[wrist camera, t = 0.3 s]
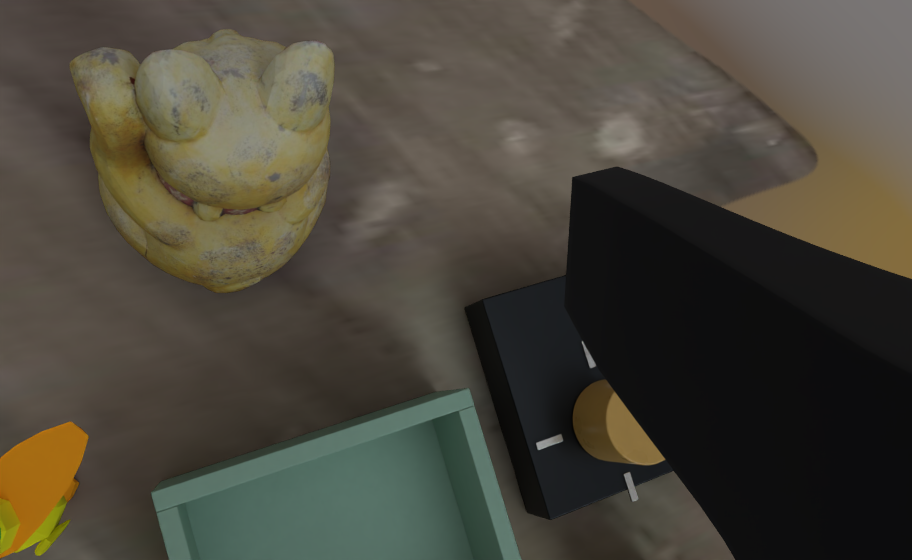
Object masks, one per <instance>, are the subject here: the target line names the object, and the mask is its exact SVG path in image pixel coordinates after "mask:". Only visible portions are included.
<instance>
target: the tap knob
mask: <svg viewBox="0 0 912 560" xmlns="http://www.w3.org/2000/svg"><path fill="white" fill-rule="evenodd" d="M573 428H574V432H575V434H576V437H577V439H578V441H579V443H580V444H581V446H582V447H583V448H584V449H585V450H586V451H587V452H588V453H589V454H590V455H592V456H593V457H595V458H597V459H600V460H603V461H610V462H619V463H628V464H636V465H654V464H657V463H660V462H662V461H664V460H665V458H664V457H663V456H662V454H661V453H660V452H659V450H658V449H657V448H656V446H655V445H654V444H653V442H652V441H651V440H650V438H649V437H648V436H647V434H646V433H645V432H644V430H643V429H642V428H641V426H640V425H639V424H638V422H637V421H636V420H635V419H634V417H633V416H632V414H631V413H630V412H629V410H628V409H627V408H626V406H625V405H624V404H623V402H622V401H621V400H620V398H619V397H618V395H617V394H616V393H615V391H614V390H613V389H612V387H611V386H610V385H609V383H608V382H607V380H606V379H605V380H599V381H596V382H594V383H592V384H590V385H589V386H588V387H586V388H585V389H584V390H583V391H582V393H581V394H580V395H579V397H578V399H577V401H576V403H575V406H574V410H573Z"/></svg>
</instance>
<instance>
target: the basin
mask: <svg viewBox="0 0 912 560" xmlns="http://www.w3.org/2000/svg"><path fill="white" fill-rule="evenodd" d="M473 405H474V402H473V399H472V396H471V393H470V389H469V388H464V389H456V390H447V391H438V392H434V393H431V394H428V395H425V396H421V397H418V398H415V399H412V400H409V401H406V402H403V403H400V404H397V405H394V406H391V407H388V408H385V409H382V410H378V411H375V412H372V413H369V414H366V415H363V416H360V417H357V418H354V419H351V420H348V421H345V422H342V423H339V424H335V425H332V426H329V427H326V428H323V429H320V430H317V431H314V432H311V433H308V434H305V435H302V436H299V437H296V438H292V439H289V440H286V441H283V442H280V443H277V444H274V445H271V446H268V447H265V448H262V449H259V450H256V451H253V452H250V453H246V454H243V455H240V456H237V457H234V458H231V459H228V460H225V461H222V462H219V463H216V464H213V465H210V466H207V467H203V468H200V469H197V470H194V471H191V472H188V473H185V474H182V475H179V476H176V477H173V478H170V479H167V480H164V481H161V482H160V483H159V484H158V485H157V486H156V487H155V489H154V490H153V491H152V492H151V496H152V500H153V503H154V507H155V511H156V512H157V518H158V522H159V525H160V529H161V533H162V536H163V540H164V544H165V547H166V551H167V555H168V558H169V560H521V557H520V553H519V550H518V547H517V544H516V540H515V537H514V534H513V530H512V527H511V524H510V521H509V517H508V514H507V511H506V508H505V504H504V501H503V498H502V494H501V491H500V488H499V485H498V481H497V478H496V475H495V471H494V468H493V465H492V462H491V458H490V455H489V452H488V449H487V445H486V442H485V439H484V435H483V432H482V429H481V426H480V422H479V419H478V416H477V413H476V409H475V406H473Z"/></svg>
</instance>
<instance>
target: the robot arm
mask: <svg viewBox="0 0 912 560" xmlns="http://www.w3.org/2000/svg"><path fill="white" fill-rule="evenodd" d="M564 307H565V309H566V311H567V313H568V314H569V316H570V318H571V320H572V322H573V324H574V326H575V328H576V330H577V332H578V333H579V335H580V337H581V339H582V341H583V343H584V345H585V346H586V348H587V350H588V352H589V353H590V355H591V357H592V359H593V360H594V362H595V364H596V366H597V367H598V369H599V371H600V372H601V373H602V375H603V376H604V378H605V379H606V380H607V382H608V383H609V385H610V386H611V387H612V389H613V390H614V391H615V393H616V394H617V395H618V397H619V398H620V400H621V401H622V402H623V404H624V405H625V406H626V408H627V409H628V410H629V412H630V413H631V414H632V416H633V417H634V419H635V420H636V421H637V422H638V424H639V425H640V426H641V428H642V429H643V430H644V432H645V433H646V434H647V436H648V437H649V438H650V440H651V441H652V442H653V444H654V445H655V446H656V448H657V449H658V450H659V452H660V453H661V454H662V456H663V457H664V458H665V460H666V461H667V462H668V464H669V465H670V466H671V468H672V469H673V470H674V472H675V473H676V474H677V476H678V477H679V478H680V480H681V481H682V482H683V484H684V485H685V486H686V488H687V489H688V490H689V492H690V493H691V494H692V496H693V497H694V498H695V500H696V501H697V502H698V503H699V505H700V506H701V508H702V509H703V510H704V512H705V513H706V515H707V516H708V518H709V519H710V521H711V522H712V524H713V525H714V526H715V528H716V529H717V531H718V532H719V534H720V535H721V537H722V538H723V540H724V541H725V543H726V545H727V546H728V548H729V550H730V551H731V553H732V555H733V556H734V558H735V560H912V279H910V278H907V277H903V276H900V275H897V274H894V273H891V272H888V271H885V270H882V269H879V268H877V267H874V266H871V265H868V264H865V263H863V262H860V261H857V260H854V259H851V258H848V257H846V256H843V255H840V254H837V253H835V252H832V251H829V250H826V249H823V248H821V247H818V246H815V245H813V244H810V243H808V242H805V241H803V240H800V239H797V238H795V237H792V236H789V235H787V234H785V233H782V232H780V231H777V230H775V229H772V228H770V227H767V226H765V225H762V224H760V223H758V222H755V221H752V220H750V219H748V218H745V217H743V216H741V215H738V214H736V213H734V212H731V211H729V210H726V209H724V208H722V207H719V206H717V205H714V204H712V203H710V202H707V201H705V200H703V199H700V198H698V197H696V196H693V195H691V194H688V193H686V192H684V191H681V190H679V189H676V188H674V187H671V186H669V185H667V184H664V183H662V182H659V181H657V180H654V179H652V178H649V177H646V176H644V175H641V174H638V173H635V172H633V171H630V170H626V169H623V168H620V167H613V168H609V169H605V170H600V171H596V172H592V173H588V174H584V175H579V176H575V177H572V193H571V208H570V224H569V239H568V255H567V270H566V286H565V301H564Z"/></svg>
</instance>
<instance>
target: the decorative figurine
mask: <svg viewBox="0 0 912 560" xmlns="http://www.w3.org/2000/svg"><path fill="white" fill-rule="evenodd" d="M334 68H335V63H334V56H333V53H332V51H331V49H330V48H329V47H328V46H326V45H325V44H324V43H322V42H319V41H317V40H316V41H305V42H299V43H293V44H292V45H290V46H288V47H284V46H282V45H280V44H278V43H276V42H270V41H262V40H258V39H255V38H251V37H243V36H241V35H239V34H238V32H237V31H234V30H231V29H224V30H219V31H217V32H215V33H214V34H213V35H212V36H211V37H210V38H209V39H203V40H200V41H191V42H185V43H183V44H181V45H179V46H177V47H175V48H173V49H172V50H160V51H154V52H152V53H151V54H150V55H149V56H147V57H146V58H145V59H144V61H143V62H142V63H141V65H140V63H139V62H138V61H137V60H136V59H135V57H134V56H133V55H132V54H131V53H130V52H129V51H126V50H121V49H116V48H109V47H101V48H98V49H95V50H92V51H87V52H85V53H84V54H82V55H80V56H78V57H76V58H74V59H73V60H72V61H71V62H70V71H71V74H72V77H73V80H74V84H75V87H76V91H77V93H78V95H79V98H80V100H81V102H82V104H83V107H84V109H85V111H86V113H87V116H88V119H89V121H90V124H91V127H92V128H91V133H90V150H91V153H92V156H93V159H94V163H95V166H96V169H97V171H98V173H99V175H98V181H99V190H100V195H101V198H102V201H103V204H104V207H105V209H106V212H107V214H108V216H109V217H110V219H111V221H112V222H113V224H114V226H115V227H116V229H117V230H118V232H119V233H120V234H121V235H122V236H123V238H124V239H125V240H126V241H127V242H128V243H129V244H130V245H131V246H132V247H133V248H134V249H136V250H137V251H138V252H139V253H140V254H141V255H142V256H143V257H145V258H146V259H147V260H148V261H149V262H151V263H152V264H153V265H155V266H156V267H158V268H160V269H161V270H163V271H165V272H166V273H168V274H171V275H173V276H175V277H178V278H180V279H183V280H185V281H188V282H191V283H195V284H199V285H203V286H204V287H205V288H207V289H208V290H210V291H213V292H215V293H230V292H235V291H240V290H243V289H245V288H247V287H249V286H252V285H253V284H255V283H257V282H259V281H260V280H262V279H263V278H264V277H267V276H269V275H271V274H272V273H274V272H275V271H277V270H278V269H279V268H281V267H282V266H283V265H284V264H286V263H287V262H288V261H289V260H290V258H291V257H292V256H293V255H294V254H295V253H296V252H297V251H298V249H299V248H300V247H301V245H302V244H303V243H304V241H305V240H306V239H307V237H308V236H309V234H310V232H311V231H312V229H313V227H314V225H315V223H316V221H317V220H318V218H319V215H320V213H321V211H322V209H323V206H324V204H325V201H326V194H327V185H328V181H329V178H330V158H329V154H328V150H327V145H328V140H329V136H330V114H329V108H328V106H329V104H330V99H331V93H332V88H333V83H334Z"/></svg>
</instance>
